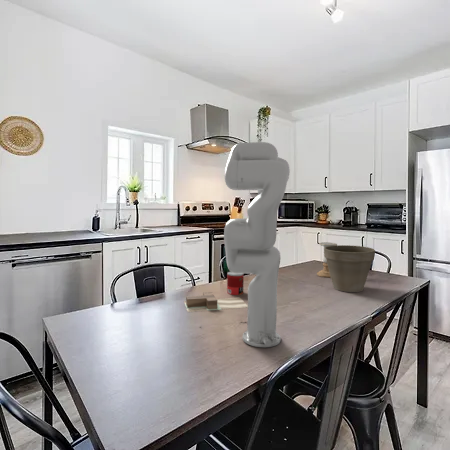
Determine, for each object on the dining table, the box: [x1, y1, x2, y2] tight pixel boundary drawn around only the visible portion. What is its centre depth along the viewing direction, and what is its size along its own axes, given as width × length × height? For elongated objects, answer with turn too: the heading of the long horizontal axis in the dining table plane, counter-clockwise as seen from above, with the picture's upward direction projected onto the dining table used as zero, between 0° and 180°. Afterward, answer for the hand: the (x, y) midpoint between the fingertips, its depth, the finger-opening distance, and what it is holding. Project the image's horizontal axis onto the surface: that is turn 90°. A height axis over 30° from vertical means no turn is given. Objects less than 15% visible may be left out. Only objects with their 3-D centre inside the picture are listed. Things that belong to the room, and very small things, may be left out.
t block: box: [185, 292, 218, 309], centre depth 136 cm, size 12×12×4 cm
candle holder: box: [316, 241, 338, 279], centre depth 196 cm, size 12×12×20 cm
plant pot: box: [323, 244, 376, 293], centre depth 167 cm, size 25×25×22 cm
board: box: [183, 297, 248, 313], centre depth 137 cm, size 14×26×1 cm, turn 104°
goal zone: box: [184, 303, 223, 312], centre depth 136 cm, size 14×14×1 cm
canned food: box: [226, 271, 245, 296], centre depth 155 cm, size 8×8×11 cm
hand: (266, 241), depth 133 cm, fingers closed
